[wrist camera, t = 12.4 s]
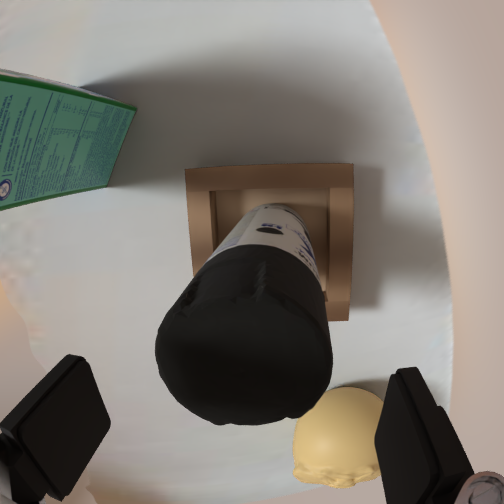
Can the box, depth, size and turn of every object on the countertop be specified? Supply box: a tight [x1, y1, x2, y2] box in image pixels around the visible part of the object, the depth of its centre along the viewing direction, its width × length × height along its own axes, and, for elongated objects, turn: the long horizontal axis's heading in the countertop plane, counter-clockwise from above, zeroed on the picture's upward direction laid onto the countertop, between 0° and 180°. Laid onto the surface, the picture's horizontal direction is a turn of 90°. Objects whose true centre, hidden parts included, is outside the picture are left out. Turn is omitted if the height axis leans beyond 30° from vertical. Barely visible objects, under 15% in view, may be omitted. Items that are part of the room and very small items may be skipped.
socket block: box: [185, 163, 354, 321], centre depth 29 cm, size 14×14×4 cm
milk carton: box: [0, 69, 137, 211], centre depth 18 cm, size 9×9×25 cm
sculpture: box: [293, 387, 384, 488], centre depth 30 cm, size 11×12×11 cm
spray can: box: [155, 203, 333, 425], centre depth 20 cm, size 7×7×20 cm
